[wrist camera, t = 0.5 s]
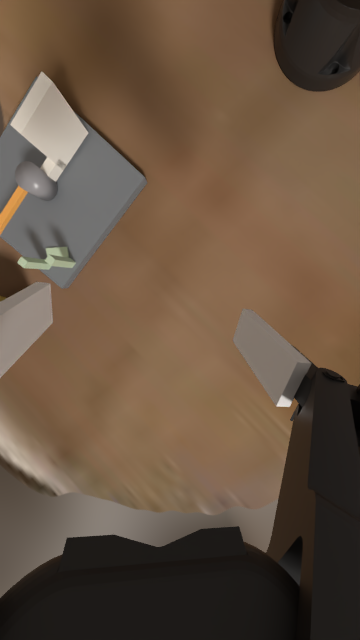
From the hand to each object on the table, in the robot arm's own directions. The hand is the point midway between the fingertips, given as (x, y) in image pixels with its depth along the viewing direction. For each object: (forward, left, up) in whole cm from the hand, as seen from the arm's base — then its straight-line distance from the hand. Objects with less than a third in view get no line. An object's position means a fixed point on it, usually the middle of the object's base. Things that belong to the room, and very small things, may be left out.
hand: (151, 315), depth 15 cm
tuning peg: (+1, -28, -23) cm, 36 cm away
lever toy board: (+1, -27, -26) cm, 38 cm away
